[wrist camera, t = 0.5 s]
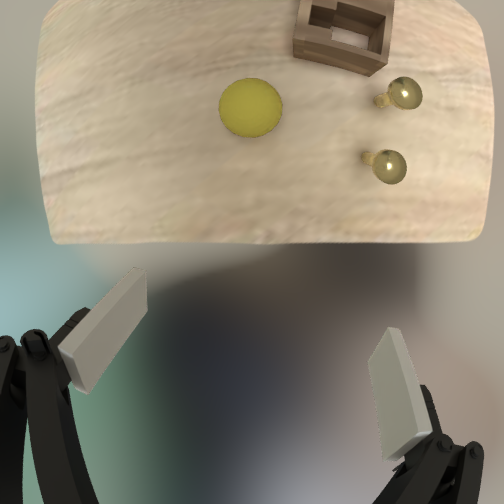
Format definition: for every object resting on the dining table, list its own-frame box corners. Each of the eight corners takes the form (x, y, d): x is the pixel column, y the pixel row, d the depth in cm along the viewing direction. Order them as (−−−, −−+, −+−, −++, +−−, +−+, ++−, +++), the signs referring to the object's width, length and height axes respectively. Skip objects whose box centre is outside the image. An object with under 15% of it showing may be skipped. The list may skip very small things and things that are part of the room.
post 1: (369, 86, 29) (394, 71, 20) (393, 94, 29) (424, 84, 20) (365, 109, 31) (389, 102, 22) (389, 117, 31) (419, 114, 21)
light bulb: (272, 80, 31) (263, 61, 22) (292, 125, 33) (292, 123, 24) (224, 100, 33) (200, 90, 24) (244, 144, 35) (227, 149, 26)
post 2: (358, 142, 33) (380, 145, 24) (381, 149, 32) (410, 156, 23) (352, 166, 34) (371, 178, 25) (375, 173, 34) (401, 188, 25)
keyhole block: (310, -26, 23) (311, -55, 16) (380, -8, 22) (396, -32, 15) (293, 57, 29) (292, 38, 22) (369, 76, 29) (387, 63, 22)
